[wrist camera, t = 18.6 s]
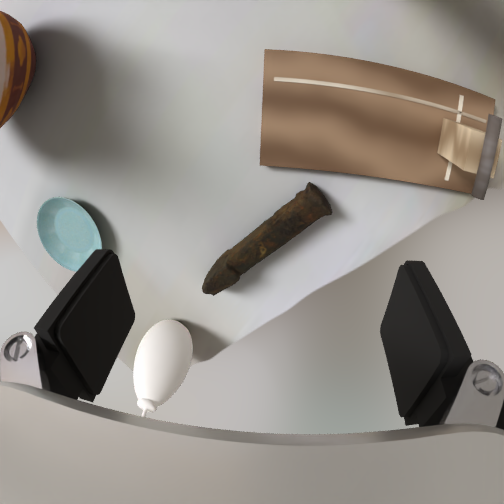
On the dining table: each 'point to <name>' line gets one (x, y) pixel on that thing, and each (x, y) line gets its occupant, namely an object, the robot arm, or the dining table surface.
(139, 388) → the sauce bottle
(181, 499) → the robot arm
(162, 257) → the dining table surface
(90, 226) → the saucer
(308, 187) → the hand tool
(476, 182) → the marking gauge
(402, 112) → the board
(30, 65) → the jug
